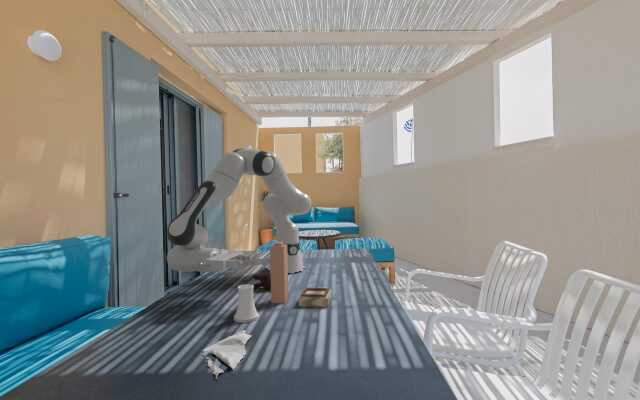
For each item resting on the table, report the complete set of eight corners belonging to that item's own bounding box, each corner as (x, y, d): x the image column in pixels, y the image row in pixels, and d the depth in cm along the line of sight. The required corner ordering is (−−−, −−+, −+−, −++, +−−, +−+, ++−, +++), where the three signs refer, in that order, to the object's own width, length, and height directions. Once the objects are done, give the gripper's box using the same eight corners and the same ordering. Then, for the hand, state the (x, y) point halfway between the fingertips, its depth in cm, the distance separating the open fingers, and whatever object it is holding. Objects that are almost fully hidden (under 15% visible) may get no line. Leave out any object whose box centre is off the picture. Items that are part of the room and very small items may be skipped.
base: (298, 305, 117) (298, 294, 117) (304, 297, 127) (304, 286, 127) (327, 306, 116) (327, 295, 116) (331, 297, 125) (331, 287, 125)
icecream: (290, 271, 142) (256, 273, 146) (283, 270, 135) (249, 272, 139) (290, 288, 140) (256, 290, 144) (284, 288, 133) (248, 290, 137)
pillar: (271, 302, 121) (269, 243, 121) (275, 298, 126) (273, 241, 126) (284, 303, 120) (283, 243, 120) (288, 298, 125) (287, 241, 125)
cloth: (228, 331, 98) (227, 323, 98) (273, 334, 95) (273, 326, 95) (170, 379, 73) (169, 369, 73) (229, 385, 70) (229, 374, 70)
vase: (253, 323, 102) (252, 290, 102) (229, 322, 103) (228, 289, 103) (262, 314, 109) (261, 283, 109) (240, 313, 111) (239, 282, 111)
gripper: (196, 256, 116) (235, 256, 114) (222, 247, 137) (255, 247, 135) (196, 274, 116) (235, 275, 114) (222, 263, 137) (255, 263, 135)
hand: (246, 260), depth 125 cm, fingers open, 8 cm apart
